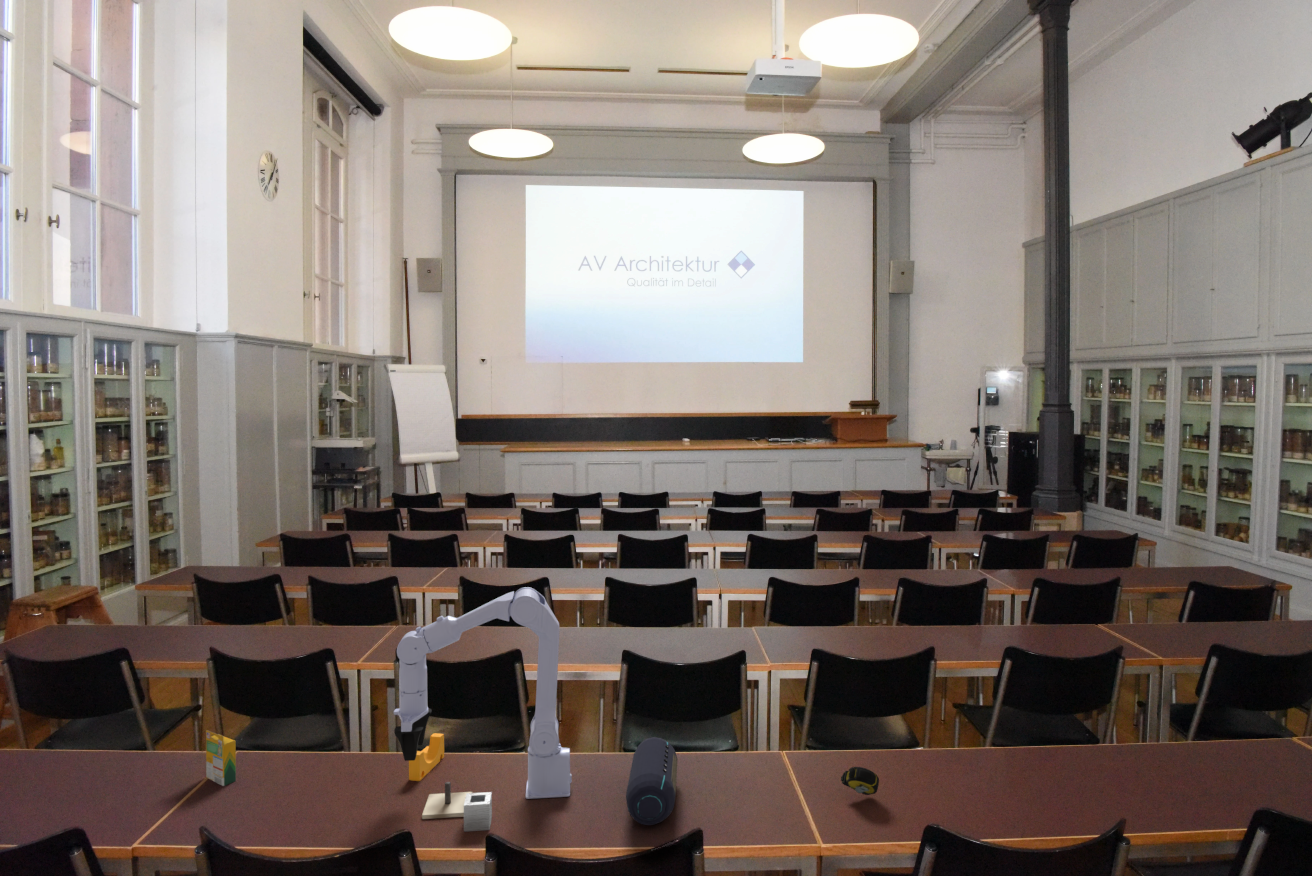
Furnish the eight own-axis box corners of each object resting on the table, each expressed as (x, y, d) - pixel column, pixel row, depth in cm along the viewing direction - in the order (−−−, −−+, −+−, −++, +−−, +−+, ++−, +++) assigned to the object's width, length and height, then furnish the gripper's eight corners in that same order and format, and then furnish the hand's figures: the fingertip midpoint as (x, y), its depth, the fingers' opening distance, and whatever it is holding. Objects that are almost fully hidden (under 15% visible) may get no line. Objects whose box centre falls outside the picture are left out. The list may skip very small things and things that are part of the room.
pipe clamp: (427, 759, 187) (427, 732, 187) (444, 760, 186) (444, 733, 186) (401, 782, 175) (401, 753, 175) (419, 783, 174) (419, 755, 174)
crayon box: (236, 783, 174) (236, 732, 174) (223, 789, 171) (222, 736, 171) (219, 775, 178) (218, 725, 178) (205, 781, 175) (205, 729, 175)
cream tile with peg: (472, 795, 168) (472, 772, 168) (467, 816, 159) (467, 792, 159) (429, 797, 167) (429, 774, 167) (422, 819, 158) (421, 794, 158)
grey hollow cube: (491, 817, 159) (491, 791, 159) (489, 829, 154) (489, 803, 154) (466, 818, 158) (466, 793, 158) (463, 831, 153) (463, 805, 153)
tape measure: (868, 801, 168) (871, 784, 170) (882, 793, 162) (885, 776, 165) (838, 787, 168) (842, 770, 170) (852, 779, 163) (855, 762, 165)
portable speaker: (674, 833, 153) (674, 782, 153) (624, 832, 153) (623, 781, 153) (678, 775, 178) (678, 732, 178) (634, 774, 178) (634, 731, 178)
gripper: (401, 678, 173) (402, 739, 174) (385, 701, 159) (386, 768, 159) (434, 677, 174) (434, 737, 174) (421, 700, 160) (421, 766, 160)
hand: (413, 752), depth 167 cm, fingers open, 7 cm apart
